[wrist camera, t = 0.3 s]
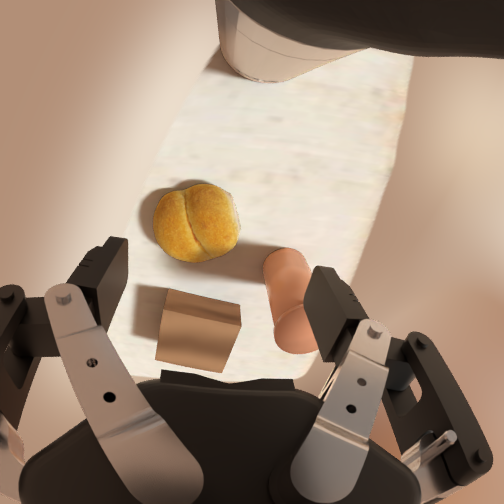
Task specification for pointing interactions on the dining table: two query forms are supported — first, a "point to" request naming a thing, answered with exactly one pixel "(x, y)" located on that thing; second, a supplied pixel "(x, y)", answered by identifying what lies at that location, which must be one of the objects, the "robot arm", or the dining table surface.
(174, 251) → the bread roll
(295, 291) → the jar
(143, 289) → the dining table surface
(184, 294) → the plinth
